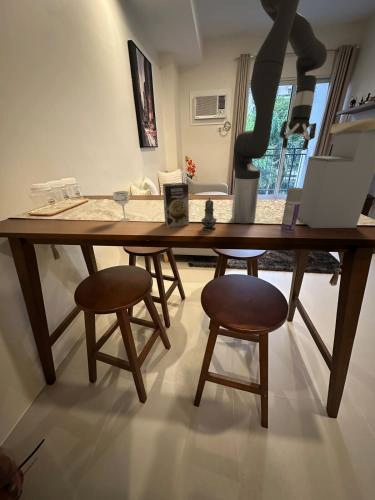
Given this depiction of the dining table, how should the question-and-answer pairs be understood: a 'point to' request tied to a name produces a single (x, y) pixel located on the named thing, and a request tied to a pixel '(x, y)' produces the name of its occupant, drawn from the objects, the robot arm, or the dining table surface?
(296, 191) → the container
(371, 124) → the wooden bar
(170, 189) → the coffee box
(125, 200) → the wineglass
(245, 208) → the robot arm
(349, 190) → the stepped stand
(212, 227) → the grey tall carved piece
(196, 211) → the dining table surface
